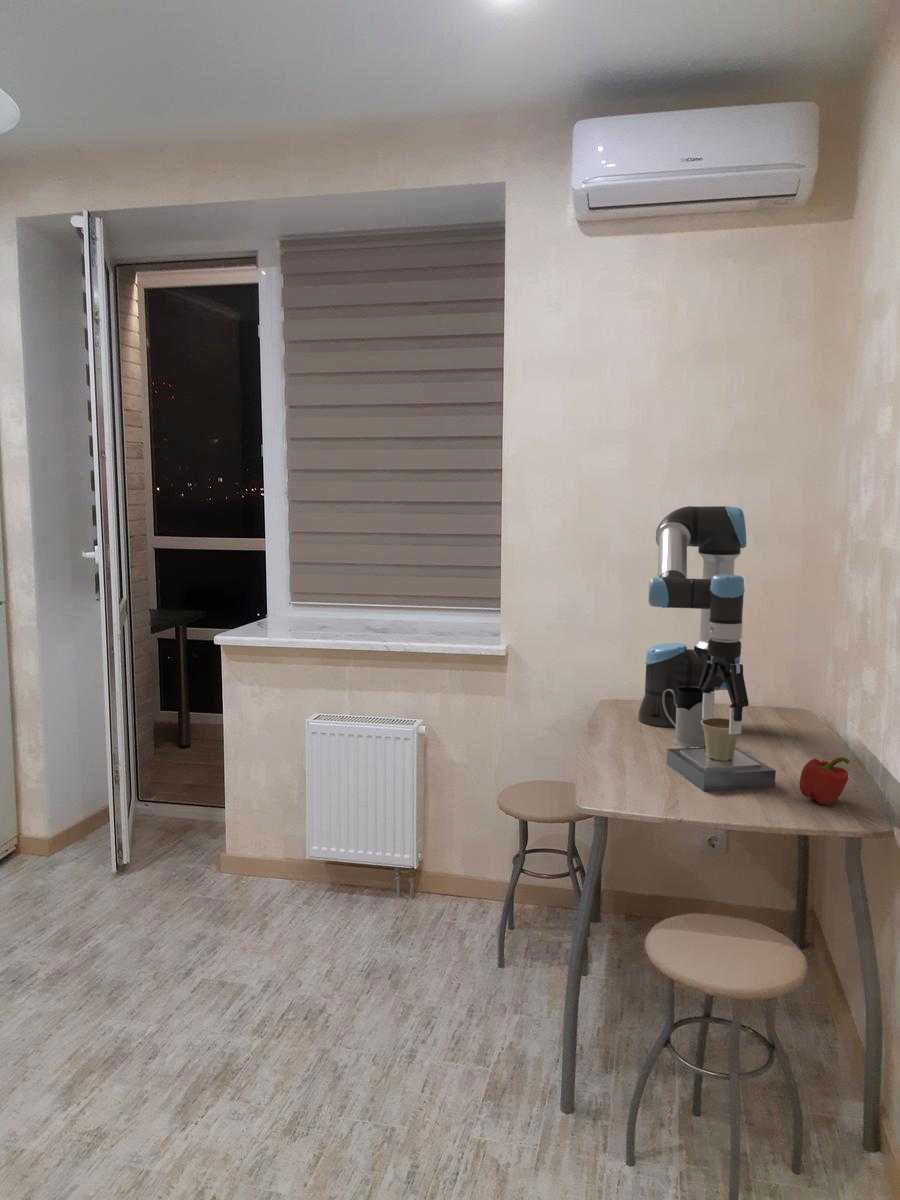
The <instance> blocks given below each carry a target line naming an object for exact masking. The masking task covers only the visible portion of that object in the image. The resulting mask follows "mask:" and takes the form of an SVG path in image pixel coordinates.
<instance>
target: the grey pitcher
mask: <svg viewBox="0 0 900 1200" xmlns="http://www.w3.org/2000/svg"><path fill="white" fill-rule="evenodd" d="M667 690H669V691H671V692H672V694H673V696H674V704H675V706H677V707H676V724H675V723H674V722H673V720H672V719H671V717H670V716H669V714H668V712H667V709H666V706H665V693H666V691H667ZM667 690H665V691H664V692H663V696H662V702H663V707H664V711H665V713H666V715H667V717H668V718H669V720H670V721H671V723H672V724H673V725H674V727H673V728H675V729H674V730H675V735H674V738H673V741H674V743H675V744H674V743H673V744H674V745H676V744H677V745H676V746H678V745H681V746H684V747H683V748H687V747H694V748H695V747H704V746H705V747H706V744H705V735H704V730H703V726H702V724H701V720H703V719H702V707H703V692H702V689H701V688H696V687H681V688H678V696H677V703H676V694H675V692H674V691H673V690H671V689H667ZM681 746H680V747H681Z"/></svg>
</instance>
